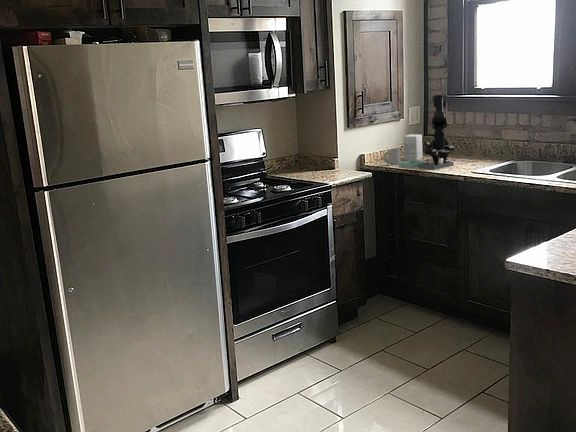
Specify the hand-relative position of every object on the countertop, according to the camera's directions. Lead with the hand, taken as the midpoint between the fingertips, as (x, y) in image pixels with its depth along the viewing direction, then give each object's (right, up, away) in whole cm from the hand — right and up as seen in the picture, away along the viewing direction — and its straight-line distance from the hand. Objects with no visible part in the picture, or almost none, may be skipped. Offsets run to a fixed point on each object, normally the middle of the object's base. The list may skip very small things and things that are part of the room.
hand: (439, 165), depth 359 cm
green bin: (-14, 0, +9) cm, 17 cm away
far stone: (-3, 0, +5) cm, 6 cm away
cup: (-24, +2, +21) cm, 32 cm away
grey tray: (-1, -1, +3) cm, 3 cm away
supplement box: (-8, +7, +36) cm, 37 cm away
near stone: (0, -1, 0) cm, 1 cm away
